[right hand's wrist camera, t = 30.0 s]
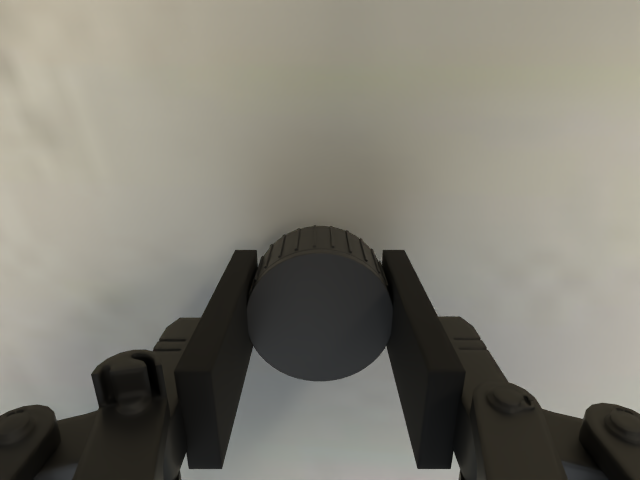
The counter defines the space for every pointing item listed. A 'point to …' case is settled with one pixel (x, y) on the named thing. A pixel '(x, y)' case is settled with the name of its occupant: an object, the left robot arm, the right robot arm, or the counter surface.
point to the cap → (319, 305)
